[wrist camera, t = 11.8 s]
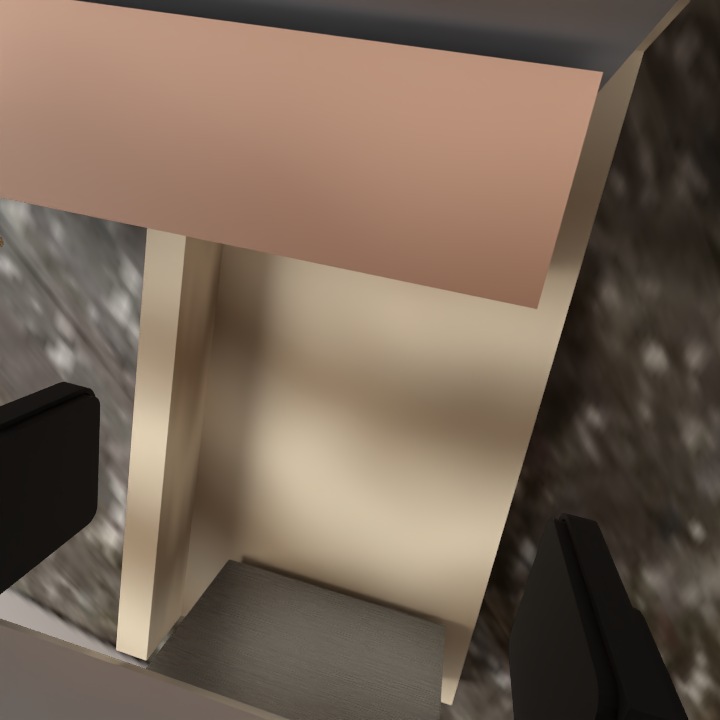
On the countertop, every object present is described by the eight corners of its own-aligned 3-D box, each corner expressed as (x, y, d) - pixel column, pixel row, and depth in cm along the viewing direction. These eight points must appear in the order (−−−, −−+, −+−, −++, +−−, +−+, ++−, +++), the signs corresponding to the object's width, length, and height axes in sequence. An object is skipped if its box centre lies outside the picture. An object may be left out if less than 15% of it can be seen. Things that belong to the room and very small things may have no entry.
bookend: (228, 558, 19) (95, 735, 12) (445, 626, 18) (430, 863, 11) (221, 615, 19) (90, 811, 13) (429, 684, 18) (406, 941, 11)
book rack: (236, -42, 16) (-435, -853, 4) (647, 5, 14) (1582, -1235, 2) (170, 586, 22) (-178, 988, 10) (452, 678, 20) (427, 1302, 8)
